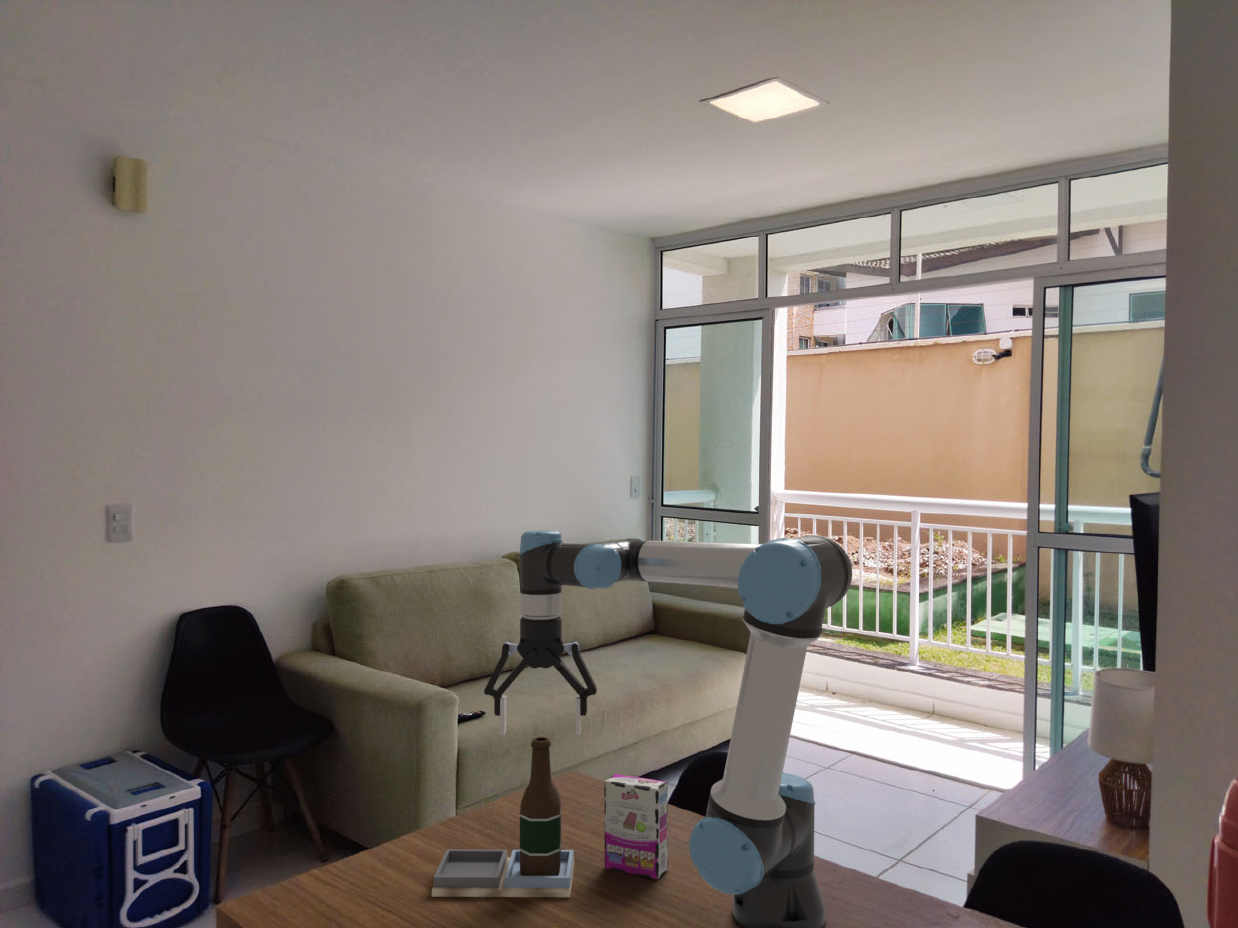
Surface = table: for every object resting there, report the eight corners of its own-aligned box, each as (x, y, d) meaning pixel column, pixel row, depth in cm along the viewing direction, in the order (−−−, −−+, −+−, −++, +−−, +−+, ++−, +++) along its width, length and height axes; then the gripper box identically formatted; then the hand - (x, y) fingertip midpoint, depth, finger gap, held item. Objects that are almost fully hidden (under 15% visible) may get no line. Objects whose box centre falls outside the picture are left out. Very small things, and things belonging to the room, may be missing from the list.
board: (574, 863, 166) (574, 857, 166) (569, 897, 153) (569, 890, 153) (446, 863, 166) (446, 856, 166) (431, 896, 153) (431, 889, 153)
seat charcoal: (507, 859, 166) (507, 849, 166) (498, 887, 154) (498, 877, 154) (446, 858, 166) (446, 849, 166) (433, 887, 154) (433, 876, 154)
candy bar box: (669, 869, 164) (669, 780, 164) (658, 880, 160) (658, 789, 160) (615, 857, 169) (615, 771, 169) (603, 868, 164) (603, 780, 165)
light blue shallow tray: (573, 859, 166) (573, 849, 166) (569, 887, 154) (569, 877, 154) (512, 859, 166) (512, 849, 166) (504, 887, 154) (504, 877, 154)
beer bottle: (567, 877, 158) (568, 742, 158) (525, 884, 155) (525, 747, 155) (554, 859, 165) (554, 730, 165) (514, 866, 162) (514, 735, 162)
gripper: (609, 612, 164) (610, 727, 164) (475, 612, 164) (475, 727, 164) (609, 619, 157) (609, 739, 156) (468, 619, 157) (468, 739, 156)
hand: (540, 733), depth 160 cm, fingers open, 13 cm apart
